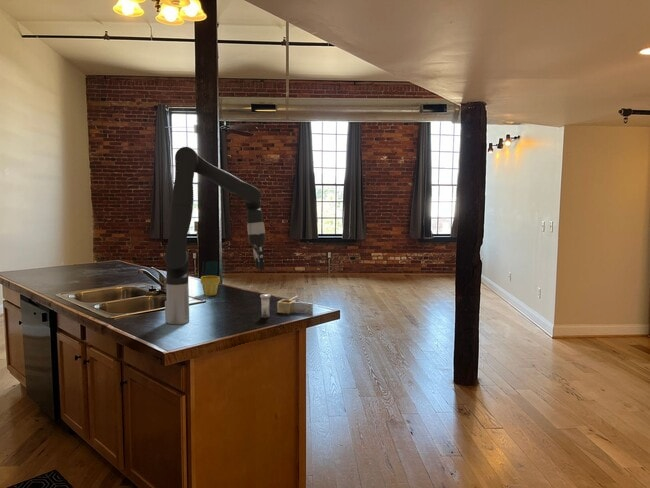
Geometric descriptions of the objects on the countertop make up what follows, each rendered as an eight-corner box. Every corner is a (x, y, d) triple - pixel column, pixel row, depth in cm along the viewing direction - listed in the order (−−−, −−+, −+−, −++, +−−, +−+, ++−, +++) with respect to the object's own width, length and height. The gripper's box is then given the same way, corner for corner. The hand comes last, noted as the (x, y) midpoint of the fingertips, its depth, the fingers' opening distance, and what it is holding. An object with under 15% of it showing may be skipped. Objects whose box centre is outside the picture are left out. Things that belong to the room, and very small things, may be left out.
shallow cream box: (277, 312, 229) (277, 302, 228) (291, 305, 244) (291, 295, 244) (309, 315, 223) (309, 305, 223) (322, 307, 239) (322, 297, 238)
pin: (258, 317, 220) (258, 295, 219) (263, 314, 224) (263, 293, 223) (267, 318, 218) (267, 296, 217) (272, 315, 223) (272, 294, 222)
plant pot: (218, 291, 276) (217, 274, 275) (221, 295, 267) (221, 277, 266) (199, 293, 272) (199, 276, 271) (202, 296, 263) (202, 279, 262)
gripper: (245, 233, 220) (249, 268, 221) (250, 234, 206) (254, 272, 207) (262, 231, 222) (265, 266, 223) (267, 232, 208) (271, 269, 209)
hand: (260, 269), depth 215 cm, fingers open, 8 cm apart
